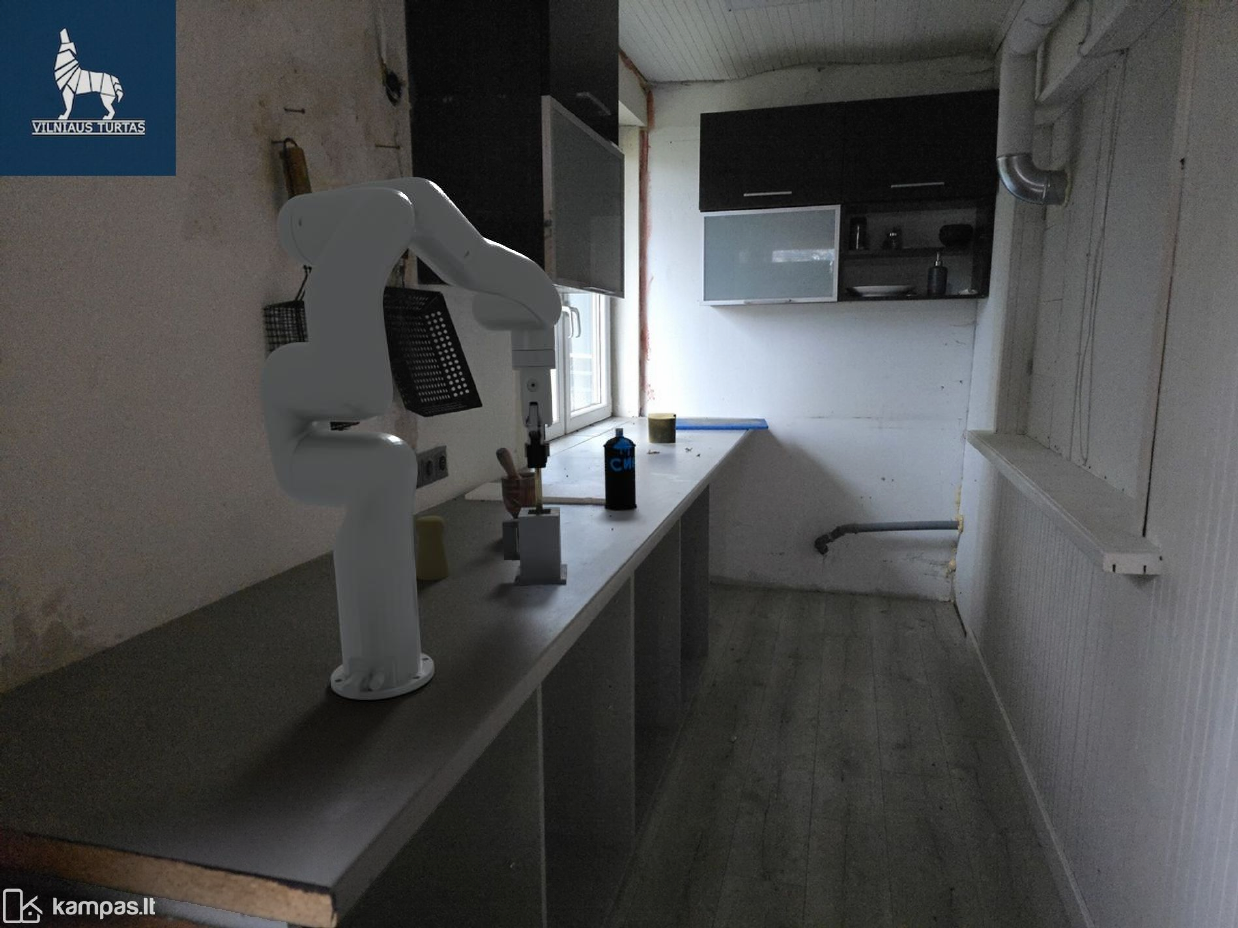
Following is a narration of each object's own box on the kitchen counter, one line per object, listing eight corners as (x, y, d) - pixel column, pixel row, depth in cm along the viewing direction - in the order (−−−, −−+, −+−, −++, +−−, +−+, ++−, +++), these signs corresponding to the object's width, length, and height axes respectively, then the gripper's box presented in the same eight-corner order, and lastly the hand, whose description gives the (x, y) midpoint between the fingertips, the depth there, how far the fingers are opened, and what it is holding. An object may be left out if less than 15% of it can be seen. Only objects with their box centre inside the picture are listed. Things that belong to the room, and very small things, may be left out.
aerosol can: (599, 505, 194) (597, 427, 191) (628, 502, 197) (627, 425, 194) (612, 511, 187) (611, 431, 183) (642, 508, 190) (641, 428, 187)
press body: (566, 583, 133) (564, 516, 131) (502, 585, 132) (499, 518, 130) (567, 568, 142) (565, 505, 140) (507, 570, 141) (504, 507, 139)
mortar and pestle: (534, 542, 160) (531, 448, 157) (494, 541, 161) (490, 448, 158) (546, 528, 172) (543, 441, 168) (509, 528, 173) (505, 441, 169)
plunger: (551, 526, 133) (549, 444, 131) (526, 527, 133) (523, 444, 131) (552, 521, 138) (550, 440, 135) (528, 521, 138) (525, 441, 135)
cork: (441, 581, 136) (438, 521, 134) (410, 579, 137) (406, 520, 135) (455, 570, 142) (452, 513, 140) (425, 569, 143) (421, 512, 141)
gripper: (553, 362, 123) (557, 473, 126) (557, 359, 139) (560, 457, 142) (507, 363, 122) (512, 474, 125) (516, 360, 139) (520, 458, 142)
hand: (537, 464), depth 134 cm, fingers closed on plunger, 4 cm apart
